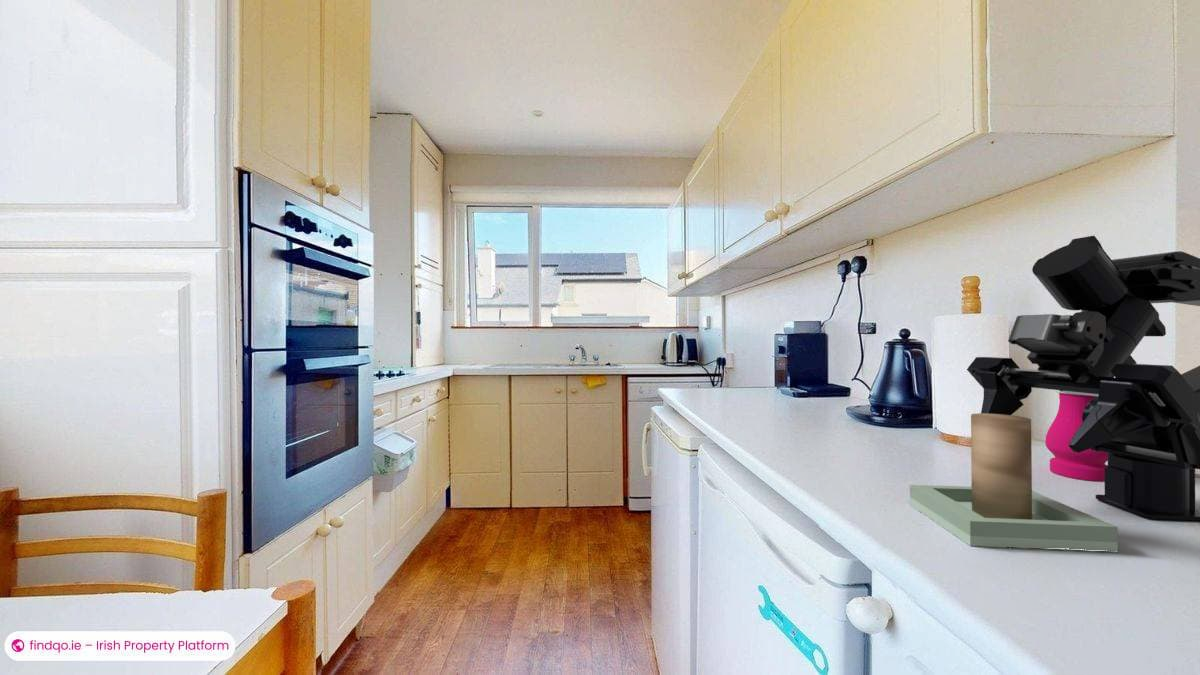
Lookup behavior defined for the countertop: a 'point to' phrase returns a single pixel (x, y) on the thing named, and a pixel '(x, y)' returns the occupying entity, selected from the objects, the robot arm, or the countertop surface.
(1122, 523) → the countertop surface
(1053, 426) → the pepper mill
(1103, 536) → the socket board
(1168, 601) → the countertop surface
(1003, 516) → the walnut leg
